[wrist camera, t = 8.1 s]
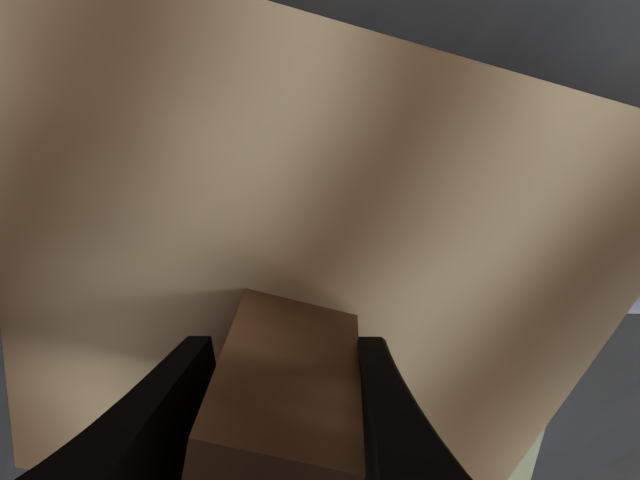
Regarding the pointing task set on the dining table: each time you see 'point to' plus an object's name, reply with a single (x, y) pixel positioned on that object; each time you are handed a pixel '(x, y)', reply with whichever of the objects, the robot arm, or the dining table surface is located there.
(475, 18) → the dining table surface
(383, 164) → the cover board
